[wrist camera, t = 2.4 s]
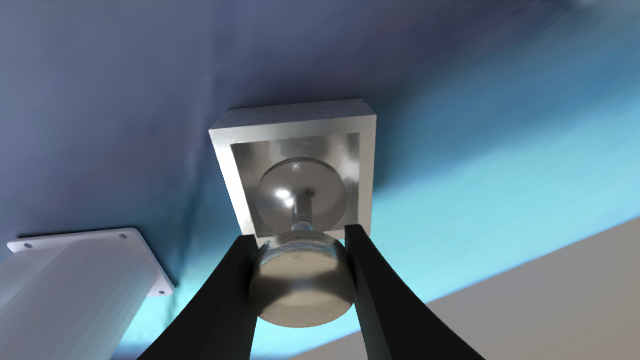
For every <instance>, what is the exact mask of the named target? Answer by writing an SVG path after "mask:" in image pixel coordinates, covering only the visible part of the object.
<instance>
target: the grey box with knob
mask: <svg viewBox="0 0 640 360" xmlns="http://www.w3.org/2000/svg"><path fill="white" fill-rule="evenodd" d="M376 117H377V114H376V113H375V112H374V111H373V110H372V109H371V108H370V107H369V106H368V105H367V103H366V102H365V101H364V100H363V99H362V98H351V99H340V100H328V101H317V102H306V103H294V104H283V105H272V106H260V107H249V108H238V109H228V110H227V111H226V112H225V113H224V114H223V115H222V116H221V117H220V118H219V119H218V120H217V121H216V122H215V123H214V124H213V125H212V126H211V127H210V128H209V129H208V131H209V134H210V137H211V140H212V143H213V146H214V149H215V152H216V155H217V158H218V161H219V164H220V167H221V170H222V173H223V176H224V179H225V182H226V185H227V188H228V191H229V194H230V197H231V200H232V204H233V207H234V210H235V213H236V216H237V219H238V222H239V225H240V228H241V231H242V234H243V235H249V234H254V235H255V238H256V241H257V245H258V247H261V246H262V245H263V244H264V243H265V242H266V241H268V240H269V239H271V238H272V237H274V236H277V235H279V234H282V233H280V232H277V231H275V230H274V229H272V228H271V227H269V226H268V225H267V224H266V223H265V222H264V221H263V220H262V218H261V217H260V215H259V213H258V211H257V208H256V203H255V197H256V191H257V188H258V185H259V182H260V180H261V178H262V176H263V175H264V173H265V172H266V171H267V170H268V169H269V168H270V167H272V166H273V165H275V164H276V163H278V162H280V161H283V160H285V159H289V158H294V157H310V158H315V159H318V160H321V161H323V162H326V163H327V164H329V165H331V166H332V167H333V168H334V169H335V170H336V171H337V172H338V173H339V174H340V176H341V177H342V179H343V181H344V184H345V187H346V191H347V195H348V204H347V208H346V211H345V213H344V215H343V217H342V218H341V219H340V221H339V222H338V223H337V224H336V225H334V226H333V227H332V228H330V229H329V230H327V231H325V232H323V233H325V234H328V235H330V236H332V237H334V238H335V239H345V231H344V225H351V224H360V225H362V227H363V229H364V230H365V232H366V233H367V235H368V236H370V228H371V209H372V191H373V172H374V154H375V136H376Z"/></svg>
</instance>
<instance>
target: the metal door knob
mask: <svg viewBox="0 0 640 360" xmlns="http://www.w3.org/2000/svg"><path fill="white" fill-rule="evenodd" d="M255 203H256V208H257V211H258V213H259V215H260V217H261V218H262V220H263V221H264V222H265V223H266V224H267V225H268V226H269V227H271V228H272V229H274V230H275V231H277V232H280V233H282V234H279V235H277V236H274V237H272V238H271V239H269V240H268V241H266V242H265V243H264V244H263V245H262V246H261V247H260V249H259V250H258V252H257V254H256V256H255V261H254V266H253V271H252V276H251V280H250V285H249V290H248V295H247V298H248V304H249V306H250V308H251V309H252V311H253V312H254V313H255V314H256V315H257V316H259V317H260V318H261V319H263V320H265V321H267V322H269V323H272V324H275V325H279V326H284V327H292V328H304V327H313V326H318V325H322V324H325V323H328V322H331V321H333V320H335V319H337V318H339V317H340V316H342V315H343V314H344V313H346V312H347V311H348V310H349V309H350V307H351V306H352V304H353V303H354V300H355V296H356V290H355V285H354V280H353V275H352V271H351V266H350V261H349V257H348V253H347V251H346V249H345V247H344V246H343V245H342V244H341V243H340V242H339V241H338V240H337V239H335V238H334V237H332V236H330V235H328V234H325V233H323V232H325V231H327V230H329V229H330V228H332V227H333V226H334V225H336V224H337V223H338V222H339V221H340V219H341V218H342V217H343V215H344V213H345V211H346V208H347V204H348V195H347V191H346V187H345V184H344V181H343V179H342V177H341V176H340V174H339V173H338V172H337V171H336V170H335V169H334V168H333V167H332V166H331V165H329V164H327V163H326V162H323V161H321V160H318V159H315V158H310V157H294V158H289V159H285V160H283V161H280V162H278V163H276V164H275V165H273V166H272V167H270V168H269V169H268V170H267V171H266V172H265V173H264V175H263V176H262V178H261V180H260V182H259V185H258V188H257V191H256V197H255Z"/></svg>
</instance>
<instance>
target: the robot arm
mask: <svg viewBox="0 0 640 360" xmlns="http://www.w3.org/2000/svg"><path fill="white" fill-rule="evenodd" d="M344 231H345V249H346V251H347V253H348V257H349V261H350V266H351V271H352V275H353V280H354V285H355V290H356V296H355V300H354V304H355V308H356V312H357V316H358V320H359V323H360V327H361V331H362V335H363V338H364V342H365V347H366V351H367V355H368V360H485V359H484V358H483V357H482V356H481V355H480V354H478V353H477V352H476V351H475V350H474V349H473V348H471V347H470V346H469V345H468V344H467V343H466V342H465V341H463V340H462V339H461V338H460V337H459V336H458V335H457V334H456V333H454V332H453V331H452V330H451V329H449V327H448V326H447V325H446V324H444V323H443V322H442V321H441V320H440V319H439V318H438V317H437V316H436V315H435V314H434V313H433V312H432V311H431V310H430V309H429V308H428V307H427V306H426V305H425V304H424V303H423V302H422V301H421V300H420V299H419V298H418V297H417V296H416V295H415V294H414V293H413V292H412V290H411V289H410V288H409V287H408V286H407V285H406V284H405V283H404V282H403V280H402V279H401V278H400V277H399V276H398V275H397V273H396V272H395V271H394V270H393V269H392V267H391V266H390V265H389V264H388V262H387V261H386V260H385V259H384V257H383V256H382V255H381V253H380V252H379V251H378V249H377V248H376V247H375V245H374V244H373V242H372V241H371V239H370V238H369V236H368V235H367V233H366V232H365V230H364V229H363V227H362V225H360V224H351V225H344ZM7 246H8V248H9V249H11V250H12V251H13V252H14V254H13V255H11V256H10V257H9V258H7V259H6V260H5V261H3V262H2V263H1V264H0V360H109V359H110V358H111V356H112V354H113V352H114V351H115V349H116V347H117V346H118V344H119V342H120V341H121V339H122V337H123V335H124V334H125V332H126V330H127V329H128V327H129V325H130V324H131V322H132V320H133V318H134V317H135V315H136V313H137V312H138V310H139V308H140V307H141V305H142V303H143V301H144V300H145V298H146V297H154V296H164V295H171V294H173V293H174V291H175V288H174V286H173V284H172V283H171V281H170V280H169V278H168V277H167V275H166V273H165V272H164V270H163V269H162V267H161V266H160V264H159V262H158V261H157V259H156V258H155V256H154V255H153V253H152V251H151V250H150V248H149V247H148V245H147V244H146V242H145V240H144V239H143V237H142V236H141V234H140V233H139V231H138V230H137V229H135V228H122V229H112V230H101V231H91V232H80V233H70V234H60V235H49V236H39V237H29V238H18V239H12V240H11V241H9V242H8V243H7ZM258 250H259V248H258V245H257V241H256V238H255V235H254V234H249V235H239V236H238V237H237V239H236V240H235V242H234V243H233V244H232V246H231V247H230V249H229V250H228V252H227V253H226V254H225V256H224V257H223V259H222V260H221V262H220V263H219V264H218V266H217V267H216V268H215V270H214V271H213V272H212V274H211V275H210V276H209V278H208V279H207V280H206V282H205V283H204V284H203V286H202V287H201V288H200V289H199V291H198V292H197V293H196V294H195V296H194V297H193V298H192V299H191V300H190V302H189V303H188V304H187V305H186V307H185V308H184V309H183V310H182V311H181V312H180V314H179V315H178V316H177V317H176V318H175V319H174V320H173V322H172V323H171V324H170V325H169V326H168V327H167V328H166V329H165V330H164V331H163V333H162V334H161V335H160V336H159V337H158V338H157V339H156V340H155V341H154V342H153V343H152V344H151V345H150V346H149V347H148V348H147V349H146V350H145V351H144V352H143V353H142V354H141V355H140V356H139V357H138V358H137V359H136V360H249V358H250V352H251V347H252V342H253V337H254V332H255V327H256V322H257V317H258V316H257V315H256V314H255V313H254V312H253V311H252V309H251V308H250V306H249V304H248V298H247V295H248V290H249V285H250V280H251V276H252V271H253V266H254V261H255V256H256V254H257V252H258Z"/></svg>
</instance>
